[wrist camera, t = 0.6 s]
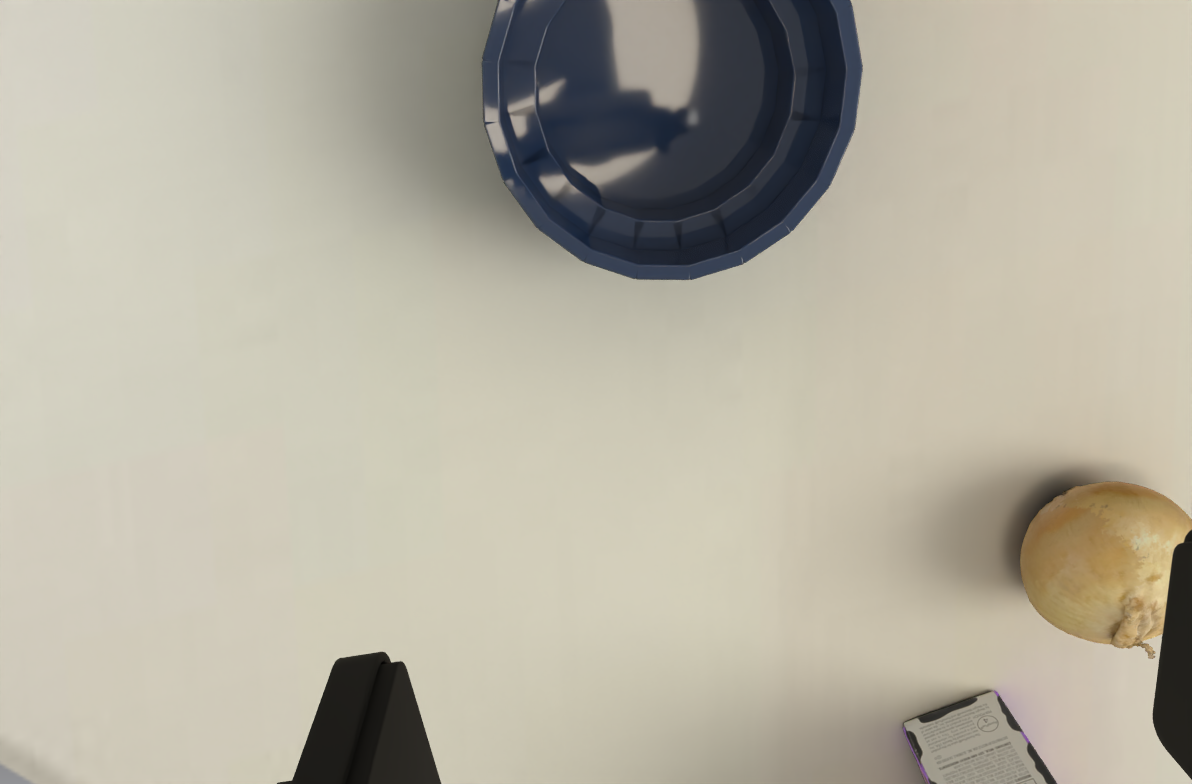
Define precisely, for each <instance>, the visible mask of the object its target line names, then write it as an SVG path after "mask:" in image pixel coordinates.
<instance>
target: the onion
mask: <svg viewBox="0 0 1192 784" xmlns="http://www.w3.org/2000/svg"><path fill="white" fill-rule="evenodd" d="M1038 512H1039V513H1038V514H1037V515H1036V516H1035V517H1034V519H1033V520H1032V522H1031V523H1030V524H1029V527H1028V530H1027V532H1026V535H1025V537H1024V540H1023V544H1022V548H1021V555H1020V568H1021V576H1022V580H1023V584H1024V587H1025V589H1026V592H1027V595H1028V598H1029V600H1030V602H1031V604H1032V605H1033V607H1034V608H1035V609H1036V610H1037V612H1038V613H1039V614H1040V615H1041V616H1042V617H1043V618H1045V619H1046V620H1047V621H1048V622H1050V623H1051V624H1052V625H1054V626H1055V627H1057V628H1059V629H1060V630H1062V631H1064V632H1066V633H1068V634H1070V635H1073V636H1076V637H1078V638H1082V639H1085V640H1088V641H1092V642H1097V643H1103V644H1112V645H1114V646H1115V647H1118V648H1128V649H1129V648H1132V647H1133V646H1137V647H1138V646H1141V647H1142V648H1145V651H1146V652H1148V656H1149V657H1148V658H1150V659H1153V658H1155V656H1153V654H1155V651H1153V648H1152V647H1150V646H1149V644H1143V642H1142V641H1144V640H1147V639H1150V638H1153V637H1156V636H1159V635H1161V634H1163V627H1164V619H1165V611H1166V603H1167V595H1168V587H1169V579H1170V572H1171V564H1172V556H1173V552H1174V548H1175V547H1176V546H1177V545H1178V544H1180V543H1184V539H1185V536H1186V535H1187V534H1188V532H1189V531H1190V530H1192V519H1191V518H1190V517H1189V516H1188V515H1187V514H1186V513H1185V512H1184V511H1183V510H1182V509H1181V508H1180V507H1179V506H1178V505H1177V504H1175V503H1174V502H1173V501H1172V500H1170V499H1168V498H1167V497H1165V496H1164V495H1162V494H1160V493H1158V492H1156V491H1153V490H1151V489H1148V488H1145V487H1142V486H1138V485H1134V484H1129V483H1123V482H1101V483H1093V484H1089V485H1084V486H1080V487H1079V486H1076V487H1074V488H1070V489H1069V490H1067V491H1064V492H1063V494H1062V495H1058V496H1057V497H1056V498H1054V499H1053V501H1051V502H1050V503H1048V504H1046V505H1045V507H1044V508H1042V509H1041V510H1040V511H1038ZM1141 643H1142V644H1141Z"/></svg>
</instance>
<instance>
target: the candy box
mask: <svg viewBox="0 0 1192 784" xmlns="http://www.w3.org/2000/svg"><path fill="white" fill-rule="evenodd" d="M903 731H904V733H905V736H906V738H907V741H908V743H909V746H910V748H911V750H912V753H913V755H914V757H915V759H916V761H917V763H918V766H919V768H920V770H921V773H922V776H923V778H924V780H925V782H926V784H1057V783H1056V781H1055V780H1054V778H1053V776H1052V775H1051V773H1050V772H1049V770H1048V769H1047V767H1046V765H1045V764H1044V762H1043V761H1042V759H1041V758H1040V757H1039V755H1038V754H1037V752H1036V750H1035V749H1034V747H1033V746H1032V744H1031V743H1030V741H1029V740H1028V738H1027V737H1026V735H1025V734H1024V732H1023V731H1022V729H1021V728H1020V726H1019V725H1018V723H1017V722H1016V720H1015V719H1014V717H1013V716H1012V714H1011V713H1010V711H1009V710H1008V708H1007V706H1006V705H1005V704H1004V702H1003V701H1002V699H1001V697H1000V696H999V694H998V693H997V692H996V691H992V692H989V693H986V694H983V695H980V696H977V697H974V698H971V699H968V700H965V701H962V702H960V703H958V704H955V705H952V706H949V707H946V708H943V709H941V710H937V711H934V712H931V713H928V714H926V715H923V716H920V717H917V718H915V719H912V720H909V721H907V722H905V723H904V727H903Z"/></svg>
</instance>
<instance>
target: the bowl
mask: <svg viewBox="0 0 1192 784" xmlns="http://www.w3.org/2000/svg"><path fill="white" fill-rule="evenodd" d="M482 59H483V60H482V92H483V122H484V123H485V124H484V127H485V130H486V133H487V136H488V139H489V142H490V145H491V148H492V150H493V153H494V156H495V159H496V162H497V165H498V168H499V171H500V174H501V177H502V180H503V181H504V184H505V185H506V186H507V188H508V189H509V191H510V192H511V193H512V195H513V196H514V197H515V199H516V200H517V202H518V203H519V204H520V206H521V207H522V208H523V210H524V211H525V213H526V214H527V215H528V217H529V218H530V219H531V221H532V222H533V223H534V225H535V226H536V228H538V229H539V230H540V231H541V232H543V233H544V234H545V235H547V236H548V237H549V238H551V239H552V240H553V241H555V242H556V243H558V244H559V245H560V246H562V247H563V248H564V249H566V250H567V251H568V252H570V253H571V254H573V255H574V256H575V257H577V258H578V259H579V260H581V261H584V262H585V263H587V264H590V265H593V266H596V267H599V268H602V269H605V270H608V271H611V272H614V273H617V274H620V275H623V276H626V277H629V278H632V279H635V278H636V279H637V280H690V279H691V280H693V279H696V278H699V277H703V276H706V275H709V274H713V273H716V272H719V271H722V270H726V269H729V268H732V267H736V266H739V265H742V264H744V263H746V262H747V261H749V260H750V259H752V258H753V257H755V256H756V255H758V254H759V253H761V252H762V251H764V250H765V249H767V248H768V247H770V246H771V245H773V244H774V243H776V242H777V241H779V240H780V239H782V238H783V237H785V236H786V235H788V234H789V233H790V232H791V231H793V230H794V229H795V227H796V226H797V225H798V224H799V223H800V221H801V220H802V219H803V218H804V217H805V216H806V214H807V213H808V212H809V211H810V210H811V208H812V207H813V206H814V205H815V204H816V202H817V201H818V200H819V199H820V198H821V196H822V195H823V194H824V193H825V192H826V190H827V189H828V188H829V186H830V185H831V183H832V181H833V178H834V176H835V174H836V172H837V169H838V167H839V165H840V162H841V160H842V158H843V156H844V153H845V151H846V149H847V147H848V144H849V142H850V140H851V137H852V135H853V133H854V130H855V125H856V117H857V109H858V102H859V94H860V86H861V79H862V71H863V69H862V67H863V65H862V59H861V54H860V48H859V42H858V36H857V30H856V24H855V18H854V12H853V6H852V3H851V1H850V0H498V3H497V6H496V10H495V13H494V17H493V21H492V24H491V28H490V31H489V35H488V39H487V42H486V46H485V49H484V53H483V57H482Z"/></svg>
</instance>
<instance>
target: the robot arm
mask: <svg viewBox="0 0 1192 784" xmlns="http://www.w3.org/2000/svg"><path fill="white" fill-rule="evenodd" d="M1153 723H1154V727H1155V730H1156V733H1157V736H1158V737H1159V739H1160V741H1161V743H1162V744H1163V746H1164V747H1165V749H1166V750H1167V751H1168V752H1169V753H1170V755H1171V756H1172V757H1173V758H1174V759H1175V761H1176V762H1177V763H1178V764H1179V765H1180V766H1181V768H1182V769H1183V770H1184V771H1185V772H1186V773H1187V775H1188V776H1189V777H1190V778H1191V779H1192V530H1190V531H1189V532H1188V534H1187V535H1186V536H1185V539H1184V543H1180V544H1178V545H1177V546H1176V547H1175V548H1174V552H1173V556H1172V564H1171V572H1170V579H1169V587H1168V595H1167V603H1166V611H1165V619H1164V627H1163V635H1162V643H1161V651H1160V659H1159V667H1158V675H1157V683H1156V691H1155V699H1154V707H1153ZM277 784H441V782H440V778H439V775H438V772H437V768H436V765H435V762H434V758H433V755H432V752H431V748H430V745H429V742H428V738H427V735H426V732H425V728H424V725H423V722H422V718H421V715H420V712H419V708H418V705H417V702H416V698H415V695H414V692H413V688H412V685H411V682H410V678H409V675H408V672H407V669H406V666H405V664H404V663H403V662H401V661H400V662H393V663H391V661H390V659H389V657H388V655H387V654H386V653H385V652H378V653H371V654H364V655H358V656H351V657H345V658H339V659H338V660H336V662H335V663H334V665H333V668H332V670H331V673H330V676H329V679H328V682H327V684H326V687H325V690H324V693H323V696H322V699H321V701H320V704H319V707H318V710H317V713H316V715H315V718H314V721H313V724H312V727H311V729H310V732H309V735H308V738H307V741H306V744H305V746H304V749H303V752H302V755H301V758H300V760H299V763H298V766H297V769H296V772H295V774H294V777H293V780H292V781H286V782H280V783H277Z"/></svg>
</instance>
